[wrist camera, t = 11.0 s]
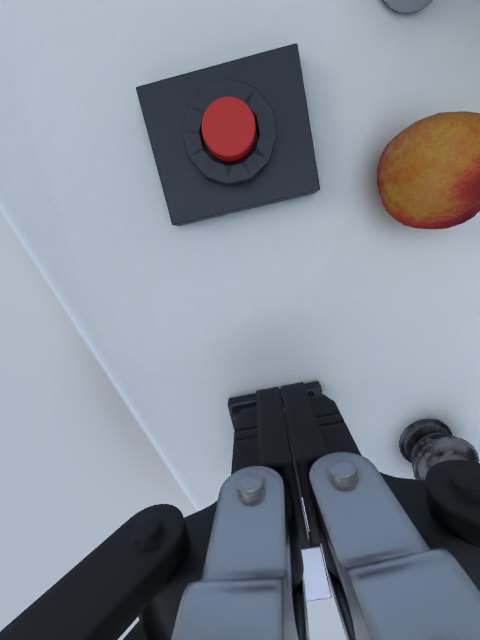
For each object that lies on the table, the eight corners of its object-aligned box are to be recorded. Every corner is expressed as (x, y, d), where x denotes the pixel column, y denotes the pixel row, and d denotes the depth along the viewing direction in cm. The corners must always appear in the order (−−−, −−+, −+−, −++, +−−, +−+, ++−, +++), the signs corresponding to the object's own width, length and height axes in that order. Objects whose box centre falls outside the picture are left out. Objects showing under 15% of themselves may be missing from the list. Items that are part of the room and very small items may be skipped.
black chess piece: (384, 449, 34) (456, 562, 22) (421, 406, 33) (518, 501, 21) (429, 476, 35) (521, 598, 23) (467, 434, 33) (585, 541, 22)
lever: (233, 404, 25) (228, 405, 23) (311, 389, 25) (315, 388, 22) (266, 585, 22) (264, 608, 20) (355, 571, 22) (363, 593, 20)
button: (211, 167, 24) (208, 162, 22) (199, 113, 23) (195, 103, 22) (259, 155, 24) (260, 149, 22) (248, 100, 23) (249, 89, 21)
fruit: (401, 251, 29) (458, 258, 21) (344, 179, 28) (382, 158, 20) (480, 186, 28) (571, 167, 20) (423, 106, 26) (497, 52, 18)
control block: (177, 226, 29) (167, 224, 25) (144, 98, 26) (126, 75, 22) (314, 193, 28) (325, 186, 24) (293, 58, 25) (301, 26, 22)
